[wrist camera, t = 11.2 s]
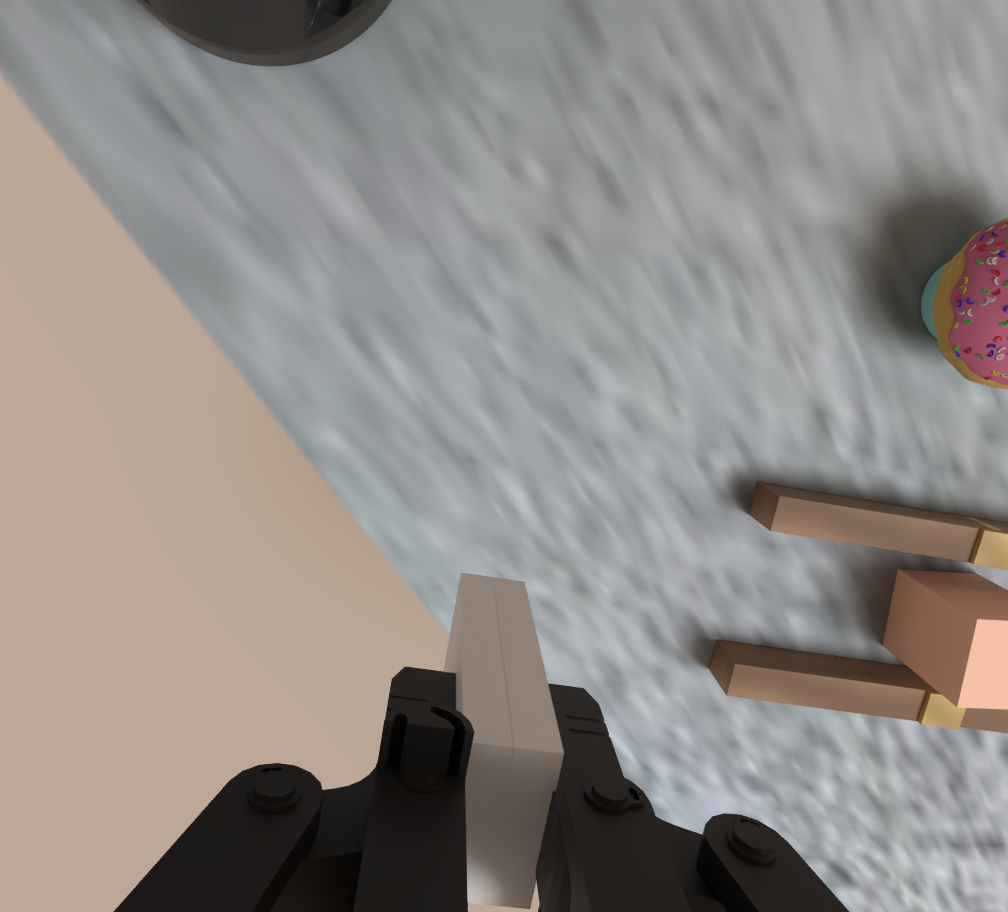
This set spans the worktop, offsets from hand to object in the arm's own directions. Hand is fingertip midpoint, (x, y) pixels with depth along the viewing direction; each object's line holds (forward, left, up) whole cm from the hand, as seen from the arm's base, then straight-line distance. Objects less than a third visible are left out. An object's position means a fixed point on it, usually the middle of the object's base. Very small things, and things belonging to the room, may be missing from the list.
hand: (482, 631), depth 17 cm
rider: (+6, +30, -25) cm, 39 cm away
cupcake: (-12, +26, -25) cm, 38 cm away
